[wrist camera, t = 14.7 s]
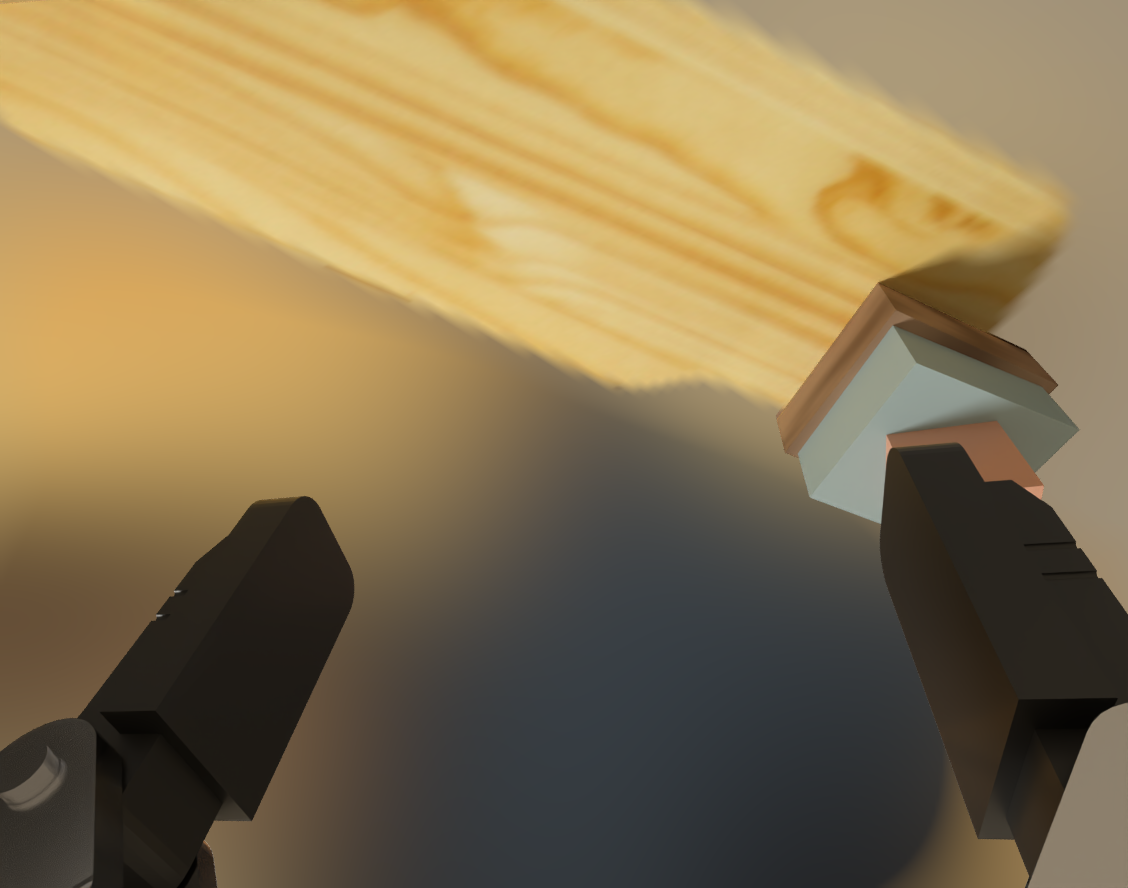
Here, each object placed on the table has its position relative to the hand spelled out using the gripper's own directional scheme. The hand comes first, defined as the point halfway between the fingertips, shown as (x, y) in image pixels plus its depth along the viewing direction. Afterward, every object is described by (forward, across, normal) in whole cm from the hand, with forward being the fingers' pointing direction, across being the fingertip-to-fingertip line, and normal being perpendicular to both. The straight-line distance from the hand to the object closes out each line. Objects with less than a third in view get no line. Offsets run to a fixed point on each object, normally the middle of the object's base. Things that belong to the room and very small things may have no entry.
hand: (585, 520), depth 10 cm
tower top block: (+27, -13, +18) cm, 35 cm away
